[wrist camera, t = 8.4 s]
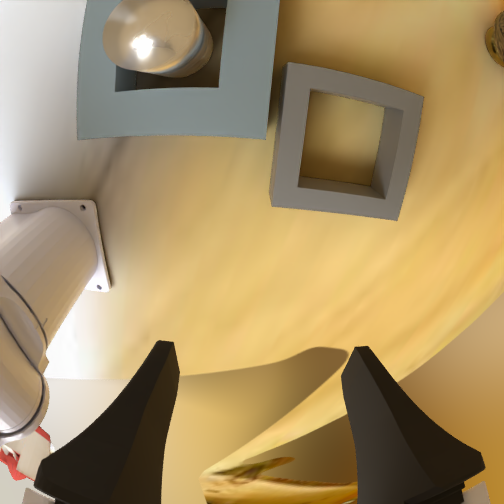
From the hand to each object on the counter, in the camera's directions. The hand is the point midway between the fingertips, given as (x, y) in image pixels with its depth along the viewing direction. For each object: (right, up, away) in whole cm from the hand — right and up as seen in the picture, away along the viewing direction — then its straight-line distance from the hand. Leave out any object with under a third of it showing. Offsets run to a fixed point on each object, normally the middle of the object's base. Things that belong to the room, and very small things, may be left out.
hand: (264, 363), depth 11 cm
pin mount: (+5, +11, +5) cm, 13 cm away
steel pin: (-5, +16, +2) cm, 17 cm away
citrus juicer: (-61, -43, +37) cm, 83 cm away
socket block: (-5, +16, +2) cm, 17 cm away
